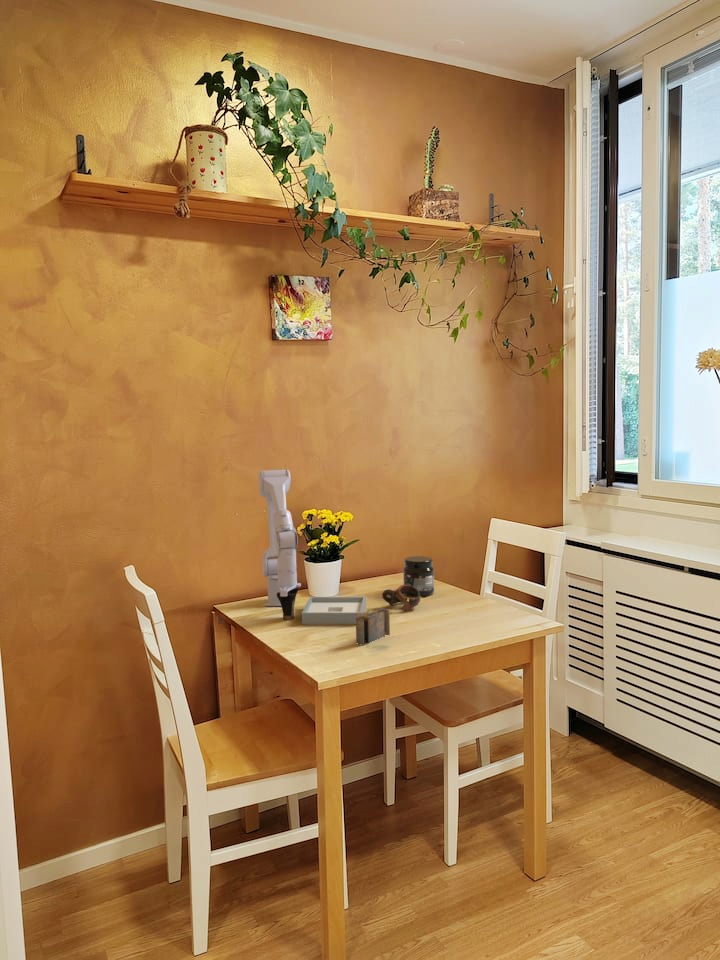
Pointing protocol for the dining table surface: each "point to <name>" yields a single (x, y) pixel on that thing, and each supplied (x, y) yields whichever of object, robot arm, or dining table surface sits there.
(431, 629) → the dining table surface
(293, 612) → the peg
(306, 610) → the crate
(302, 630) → the dining table surface
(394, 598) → the rusty metal pipe clamp
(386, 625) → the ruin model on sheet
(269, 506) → the robot arm
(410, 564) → the supplement container
